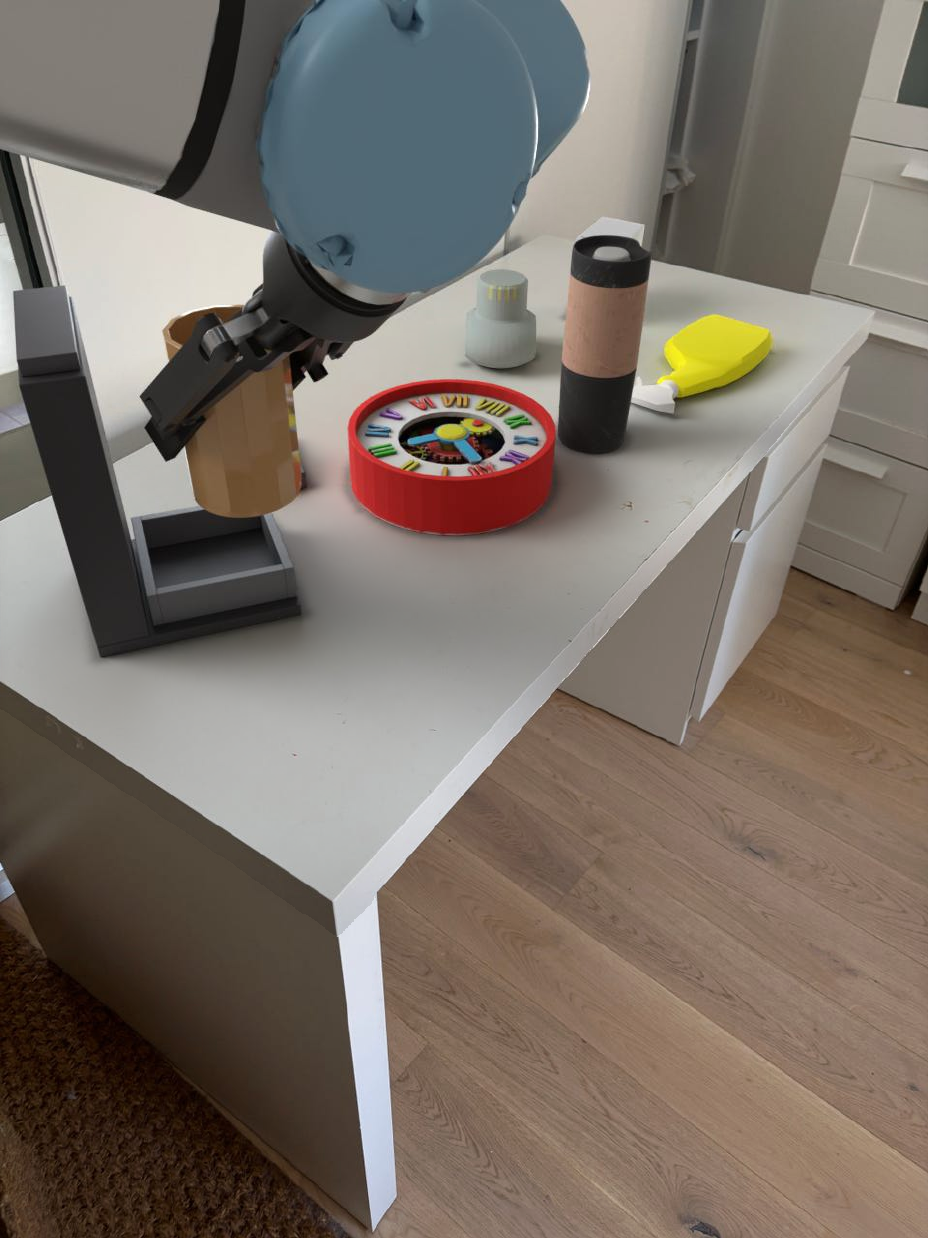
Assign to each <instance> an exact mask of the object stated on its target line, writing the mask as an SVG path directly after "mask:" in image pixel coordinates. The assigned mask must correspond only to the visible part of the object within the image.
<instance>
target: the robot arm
mask: <svg viewBox="0 0 928 1238" xmlns="http://www.w3.org/2000/svg"><path fill="white" fill-rule="evenodd" d="M590 91H591V72H590V68H589V66H588V51H587V48H586V45H585V42H584V39H583V37H582V35H581V32H580V30H579V28H578V26H577V24H576V22H575V19H574V18H573V16H572V15H571V13H570V11H569V10H568V9H567V7H566V6H565V4H564V2H562V0H0V150H2V151H6V152H9V153H12V154H15V155H19V156H23V157H26V158H29V159H32V160H36V161H40V162H43V163H47V164H51V165H54V166H57V167H61V168H63V169H67V170H71V171H73V172H74V171H75V172H78V173H81V174H85V175H88V176H91V177H95V178H98V179H101V180H105V181H108V182H112V183H116V184H119V185H122V186H126V187H130V188H132V189H137V190H140V191H144V192H146V193H149V194H153V195H155V196H159V197H162V198H165V199H169V200H171V201H174V202H176V203H178V204H181V205H183V206H186V207H189V208H193V209H196V210H199V211H203V212H207V213H210V214H213V215H217V216H221V217H224V218H228V219H231V220H234V221H237V222H241V223H243V224H248V225H252V226H254V227H257V228H260V229H263V230H268V231H270V232H269V234H268V235H267V237H266V240H265V242H264V246H263V250H262V283H261V284H259V286H257V287H256V288H255V290H253V292H252V294H251V298H249V299H248V300H247V301H246V302H245V304H243V305H244V306H243V307H242V308H241V309H240V310H239V311H238V312H236V313H235V314H234V315H233V316H232V317H231V318H230V319H229V320H228V321H227V323H225V324H223V322H222V321H221V319H219V318H218V317H217V315H216V313H208V314H205V315H203V316H202V317H201V318H200V319H199V320H198V321H197V322H196V324H195V327H194V330H193V332H192V335H191V337H190V338H189V339H188V340H187V341H186V343H185V344H184V345H183V346H182V347H181V348H180V350H179V351H178V352H177V353H176V354H175V355H174V357H173V358H172V359H171V360H170V361H169V362H168V361H167V363H166V365H165V366H164V367H163V368H162V369H161V370H160V371H159V373H158V374H157V375H156V376H155V377H154V378H153V380H152V381H151V382H150V383H149V384H148V386H147V387H146V388H145V389H144V390H143V392H142V393H141V394H140V395H139V399H140V400H141V402H142V403H143V405H144V406H145V409H146V410H147V411H148V413H149V414H150V416H151V417H150V418H149V420H148V421H147V422H146V424H145V425H144V427H143V428H144V430H145V432H146V433H147V435H148V437H149V439H151V441H152V443H153V445H154V446H155V447H156V449H157V451H158V453H160V455H161V458H162V459H163V460H164V462H165V463H167V462H169V461H173V460H174V459H176V458H177V456H178V455H179V454H180V452H182V451H183V449H184V446H185V445H186V444H187V443H188V442H189V440H190V439H191V438H192V437H193V435H194V434H195V433H196V432H197V431H198V429H199V428H200V427H201V426H202V424H203V423H204V422H205V421H206V419H205V417H204V415H203V414H204V413H206V412H207V411H208V410H209V409H210V408H212V407H213V406H214V405H215V404H216V403H218V402H219V401H220V400H221V399H223V398H224V397H225V396H226V395H227V394H229V393H230V392H231V391H232V390H233V389H235V388H236V387H237V386H238V385H240V384H241V383H242V382H243V381H244V380H246V379H247V378H248V377H249V376H250V375H252V374H253V373H254V372H262V371H267V370H271V369H272V368H274V367H275V366H276V365H277V364H279V363H280V362H281V361H282V360H283V359H285V358H286V357H287V356H288V355H289V359H290V369H291V379H292V388H293V392H294V391H295V390H296V389H297V388H298V387H299V386H300V385H301V383H302V382H303V381H304V380H305V379H306V378H307V376H306V374H305V373H306V372H307V374H308V376H309V377H310V379H311V380H312V382H313V383H318V382H320V381H321V380H323V379H324V378H326V377H328V375H329V371H328V370H327V369H326V367H325V365H324V362H325V359H326V356H328V357H329V359H330V360H331V361H334V360H339V359H341V358H342V357H343V356H344V354H346V352H347V351H348V350H349V349H350V348H351V346H352V345H353V344H354V343H355V342H358V341H359V342H360V341H362V340H364V339H366V338H368V337H370V336H371V335H373V334H374V333H376V332H377V330H379V329H380V328H381V326H382V325H384V324H385V323H386V321H388V319H390V318H391V317H392V315H393V314H394V313H396V312H397V310H399V308H400V307H401V306H402V305H403V304H404V303H405V301H406V300H407V298H408V297H409V296H411V295H412V294H413V293H420V294H427V293H428V292H430V291H431V290H432V289H434V288H437V287H439V286H442V285H445V284H447V283H450V282H451V281H453V280H455V279H458V278H460V277H461V276H463V275H464V274H465V273H467V272H468V271H470V270H471V269H473V268H474V267H475V266H477V265H478V264H479V263H480V261H482V260H483V259H484V258H485V257H487V256H488V255H489V254H490V252H492V250H493V249H495V247H496V246H497V245H498V244H499V243H500V241H501V240H502V238H503V237H504V236H505V234H506V233H507V231H508V230H509V228H510V227H511V225H512V224H513V222H514V220H515V218H516V217H517V215H518V213H519V210H520V207H521V204H522V202H523V201H524V199H525V197H526V195H527V189H528V185H529V182H530V181H531V180H532V179H533V178H535V176H536V175H537V174H538V173H539V172H540V169H541V167H542V166H543V164H544V163H545V162H546V161H547V160H548V158H549V157H550V156H551V155H552V154H553V153H554V151H555V150H556V149H557V148H558V147H559V146H560V144H561V143H562V142H563V141H564V139H565V138H566V137H567V136H568V135H569V133H570V132H571V131H572V129H573V128H574V126H575V125H577V123H578V121H579V120H580V119H581V117H582V115H583V114H584V111H585V109H586V106H587V103H588V101H589V97H590ZM264 348H265V349H266V350H269V351H271V352H269V353H268V354H267V352H266V350H265V349H264Z"/></svg>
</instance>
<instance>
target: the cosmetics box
mask: <svg viewBox="0 0 928 1238" xmlns="http://www.w3.org/2000/svg"><path fill="white" fill-rule="evenodd" d="M644 231H645V224H642V223H638V222H634V221H628V220H624V219H623V220H622V219H618V218H614V217H608V216H601V217H600V218H598V219H597V220H596V221H595V222H594V223H592V224H591V225H590V226H589V227H588V228H586V229H585V230H584V231H583V232H581V234H579V235H578V236H576V237H575V239H574V243H575V242H577V241H578V240H580V239H582V238H585V237H590V236H597V235H615V236H624V237H629V238H633V239H635V240H637V241H638V242H639V243H640V246H641V247H642V245H643V237H644Z"/></svg>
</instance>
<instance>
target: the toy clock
mask: <svg viewBox="0 0 928 1238" xmlns="http://www.w3.org/2000/svg"><path fill="white" fill-rule="evenodd" d="M555 423H556V422H555V421H554V419H553V417H552V415H551V414H550V413H549V411H548V410H547V409H546V408H545V407H544V406H543V405H542V404H541V403H539V402H537V401H536V400H535V399H534V398H532V397H531V396H528V395H527V394H524V393H523V392H520V391H517V390H515V389H512V388H510V387H506V386H503V385H499V384H496V383H493V382H492V383H491V382H485V381H480V380H473V379H472V380H471V379H459V378H453V379H452V378H442V379H441V378H440V379H427V380H419V381H412V382H408V383H404V384H399V385H396V386H393V387H391V388H387V389H385V390H382V391H380V392H378V393H376V394H374V395H372V396H370V397H368V398H367V399H366V400H364V401H363V402H361V403H360V404H359V405H358V406H357V407H356V409H355V410H353V412H352V414H351V415H350V417H349V420H348V424H347V444H348V456H349V457H348V458H349V475H350V485H351V491H352V493H353V495H354V497H355V499H356V501H357V502H358V503H359V504H360V505H361V506H362V507H363V508H364V510H366V511H367V512H369V513H370V514H372V515H373V516H374V517H376V518H378V519H379V520H382V521H384V522H386V523H388V524H389V525H391V526H395V527H399V528H401V529H404V530H408V531H412V532H417V533H421V534H427V535H438V536H467V535H468V536H469V535H478V534H484V533H489V532H494V531H498V530H502V529H505V528H508V527H511V526H513V525H515V524H518V523H520V522H522V521H523V520H526V519H528V518H529V517H530V516H532V515H533V514H535V513H536V512H537V511H538V510H539V509H540V508H541V507H543V506H544V504H545V503H546V501H547V499H548V497H549V495H550V494H551V489H552V481H553V469H554V460H555V459H554V458H555V447H556V435H557V431H556V424H555Z"/></svg>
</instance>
